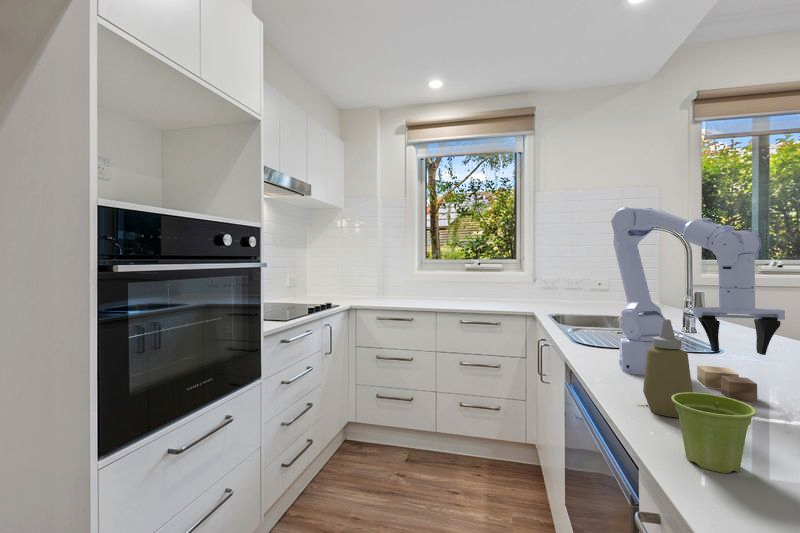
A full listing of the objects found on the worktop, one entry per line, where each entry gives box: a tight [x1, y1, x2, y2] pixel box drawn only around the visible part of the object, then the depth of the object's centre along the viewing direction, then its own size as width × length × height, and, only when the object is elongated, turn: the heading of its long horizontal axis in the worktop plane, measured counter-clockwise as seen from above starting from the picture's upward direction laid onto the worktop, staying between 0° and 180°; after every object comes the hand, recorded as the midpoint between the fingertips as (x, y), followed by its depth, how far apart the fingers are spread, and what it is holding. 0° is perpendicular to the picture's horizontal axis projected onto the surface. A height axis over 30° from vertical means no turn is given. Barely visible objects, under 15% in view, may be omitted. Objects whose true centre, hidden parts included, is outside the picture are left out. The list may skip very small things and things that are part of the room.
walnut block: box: [720, 376, 758, 404], centre depth 80 cm, size 4×4×4 cm
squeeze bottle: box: [642, 318, 694, 418], centre depth 74 cm, size 8×8×18 cm
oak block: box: [696, 365, 740, 390], centre depth 88 cm, size 6×6×4 cm
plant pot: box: [671, 392, 757, 474], centre depth 55 cm, size 9×9×9 cm
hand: (737, 352), depth 80 cm, fingers open, 7 cm apart
